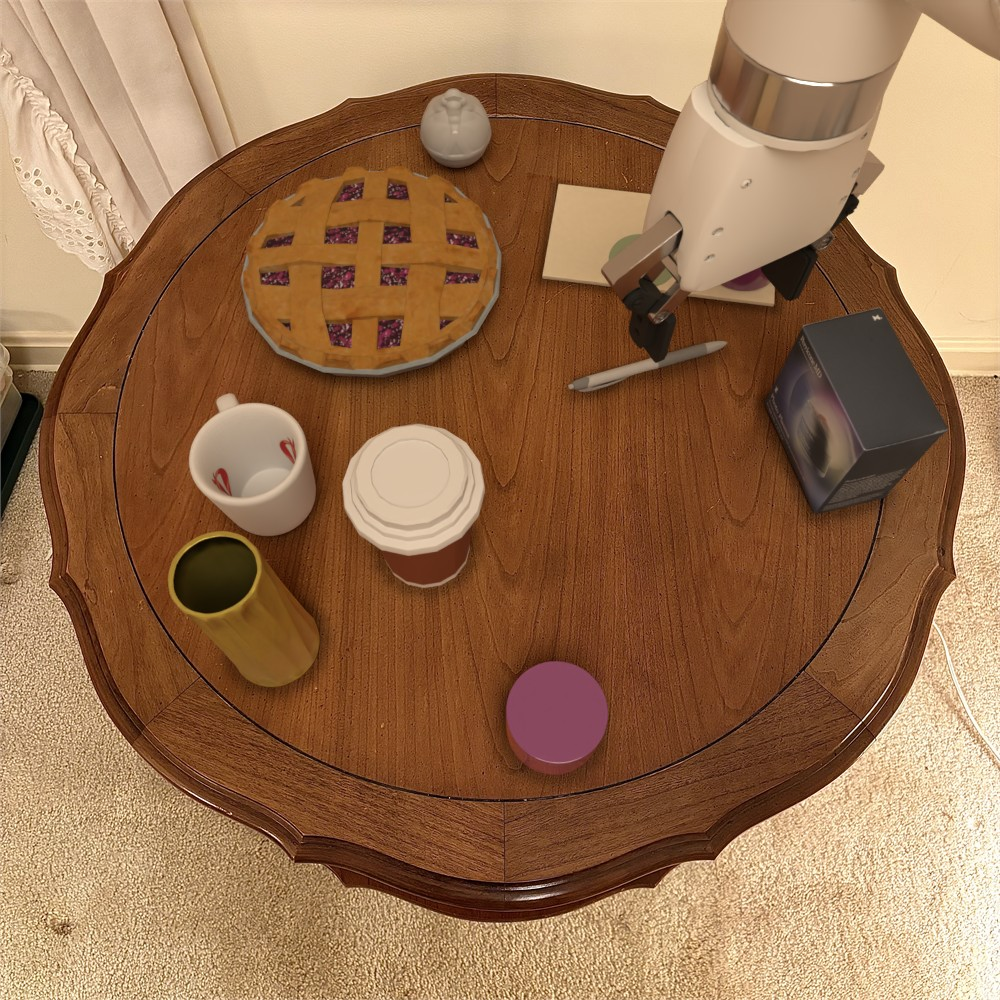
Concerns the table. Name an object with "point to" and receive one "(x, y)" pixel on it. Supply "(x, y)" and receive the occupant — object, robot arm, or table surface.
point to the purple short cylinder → (555, 717)
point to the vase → (244, 608)
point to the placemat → (611, 240)
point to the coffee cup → (416, 500)
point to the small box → (851, 410)
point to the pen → (643, 366)
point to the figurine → (455, 129)
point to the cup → (254, 466)
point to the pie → (371, 272)
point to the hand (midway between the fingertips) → (713, 313)
